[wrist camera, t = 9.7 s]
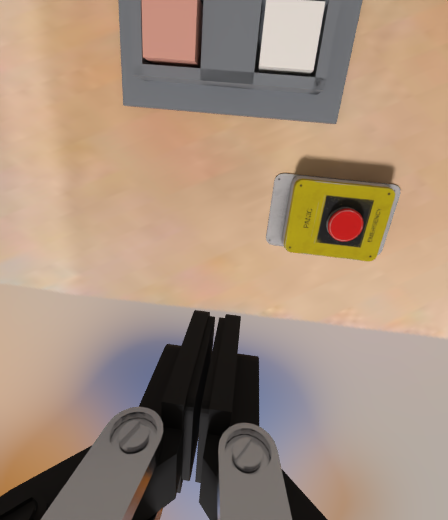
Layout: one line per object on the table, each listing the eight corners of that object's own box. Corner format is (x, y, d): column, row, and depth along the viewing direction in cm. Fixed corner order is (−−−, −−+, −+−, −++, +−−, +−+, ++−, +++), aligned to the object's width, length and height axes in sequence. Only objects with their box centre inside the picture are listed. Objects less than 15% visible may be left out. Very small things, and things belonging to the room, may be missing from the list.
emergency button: (391, 269, 35) (265, 254, 36) (378, 255, 39) (264, 242, 40) (418, 190, 31) (277, 176, 32) (400, 184, 35) (275, 171, 36)
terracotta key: (203, 7, 29) (197, -8, 26) (200, 68, 31) (194, 61, 28) (153, 4, 29) (141, -11, 26) (153, 64, 31) (142, 57, 28)
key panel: (365, -26, 28) (384, -54, 24) (334, 124, 33) (344, 122, 29) (120, -40, 30) (98, -68, 26) (126, 105, 35) (109, 102, 31)
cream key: (318, 15, 28) (325, 1, 25) (308, 76, 30) (313, 70, 27) (265, 12, 28) (266, -3, 25) (258, 72, 30) (258, 66, 27)
